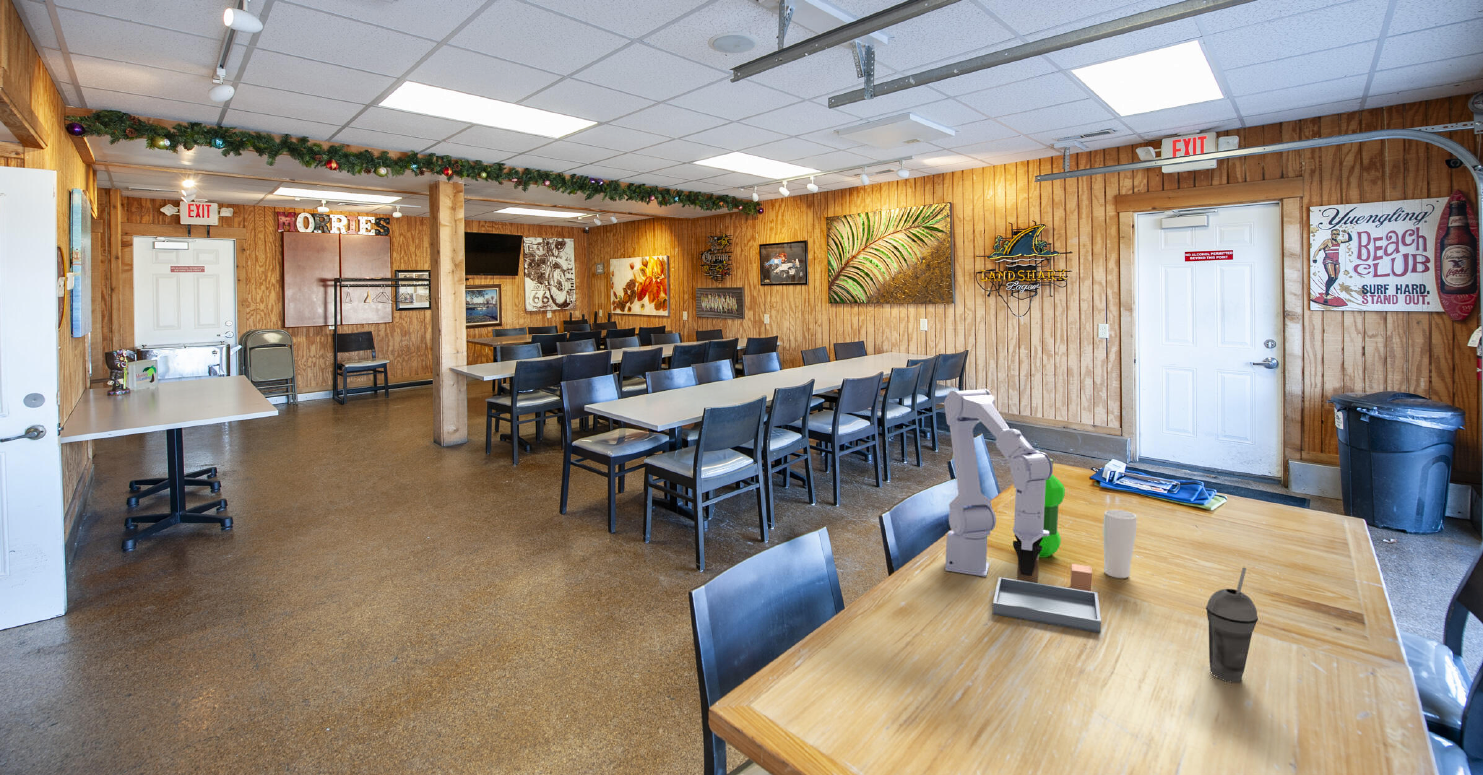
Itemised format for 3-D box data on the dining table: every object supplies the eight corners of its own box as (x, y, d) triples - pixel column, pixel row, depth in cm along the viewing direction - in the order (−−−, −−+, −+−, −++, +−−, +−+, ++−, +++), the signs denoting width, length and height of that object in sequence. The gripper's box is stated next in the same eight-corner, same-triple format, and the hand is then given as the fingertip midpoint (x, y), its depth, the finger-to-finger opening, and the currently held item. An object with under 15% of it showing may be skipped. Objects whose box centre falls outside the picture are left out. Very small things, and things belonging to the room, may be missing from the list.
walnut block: (1016, 580, 141) (1017, 557, 141) (1017, 572, 145) (1018, 551, 144) (1037, 583, 139) (1038, 560, 139) (1037, 575, 143) (1039, 553, 142)
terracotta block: (1070, 591, 150) (1071, 570, 149) (1070, 584, 153) (1071, 563, 152) (1090, 594, 148) (1091, 573, 147) (1089, 587, 151) (1091, 566, 151)
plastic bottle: (1063, 550, 173) (1068, 457, 170) (1057, 564, 164) (1062, 466, 161) (1022, 543, 178) (1026, 452, 175) (1014, 556, 170) (1018, 461, 166)
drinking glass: (1137, 581, 154) (1141, 519, 152) (1105, 579, 155) (1109, 517, 153) (1126, 569, 160) (1130, 510, 158) (1096, 568, 162) (1100, 508, 160)
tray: (992, 613, 139) (993, 602, 139) (998, 587, 152) (998, 577, 152) (1100, 633, 131) (1101, 621, 131) (1096, 603, 143) (1097, 592, 143)
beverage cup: (1200, 659, 121) (1209, 554, 118) (1250, 671, 117) (1261, 563, 114) (1200, 678, 115) (1210, 568, 112) (1253, 692, 111) (1264, 578, 108)
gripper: (1049, 522, 132) (1046, 587, 134) (1050, 502, 145) (1047, 561, 147) (1011, 518, 135) (1009, 581, 137) (1015, 498, 148) (1013, 556, 150)
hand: (1026, 570), depth 142 cm, fingers closed on walnut block, 4 cm apart
